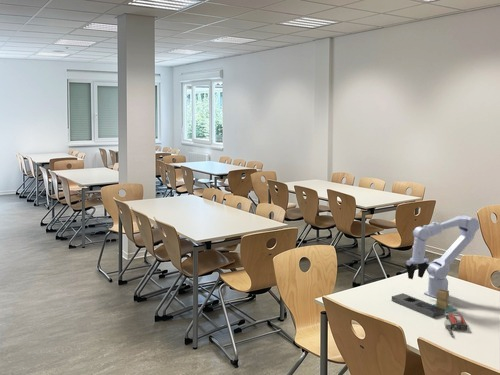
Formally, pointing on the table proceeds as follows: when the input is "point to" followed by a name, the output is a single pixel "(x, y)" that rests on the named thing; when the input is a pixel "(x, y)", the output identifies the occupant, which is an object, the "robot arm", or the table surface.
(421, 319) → the table surface
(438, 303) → the oak peg
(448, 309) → the teal mat
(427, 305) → the rack frame
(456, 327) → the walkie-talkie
